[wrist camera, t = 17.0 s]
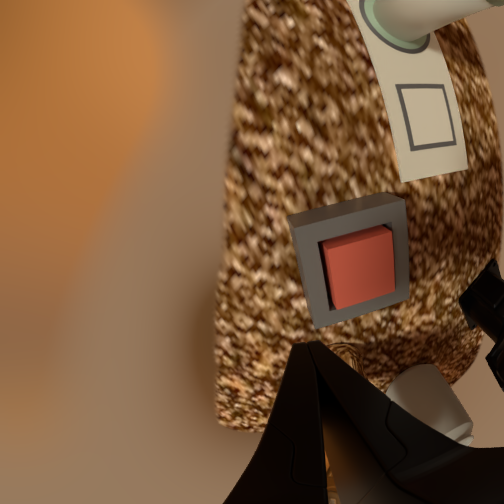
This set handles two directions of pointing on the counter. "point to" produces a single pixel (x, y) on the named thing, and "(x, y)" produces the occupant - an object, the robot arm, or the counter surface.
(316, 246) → the button housing
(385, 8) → the ball
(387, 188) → the counter surface
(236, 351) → the counter surface
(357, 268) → the button
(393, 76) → the colouring card
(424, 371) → the can
